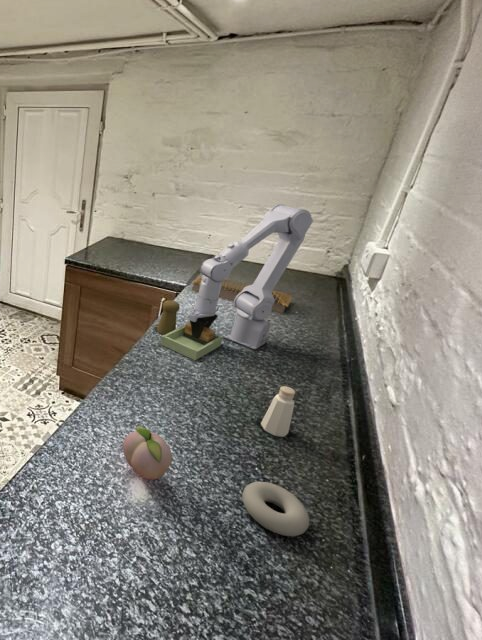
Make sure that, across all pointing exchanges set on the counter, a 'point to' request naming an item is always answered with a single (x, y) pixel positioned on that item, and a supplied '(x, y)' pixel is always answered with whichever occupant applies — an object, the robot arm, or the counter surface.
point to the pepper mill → (168, 317)
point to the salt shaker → (279, 413)
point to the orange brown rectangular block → (205, 336)
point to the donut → (276, 522)
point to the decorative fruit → (147, 453)
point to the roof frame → (240, 286)
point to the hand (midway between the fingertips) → (198, 335)
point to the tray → (188, 344)
